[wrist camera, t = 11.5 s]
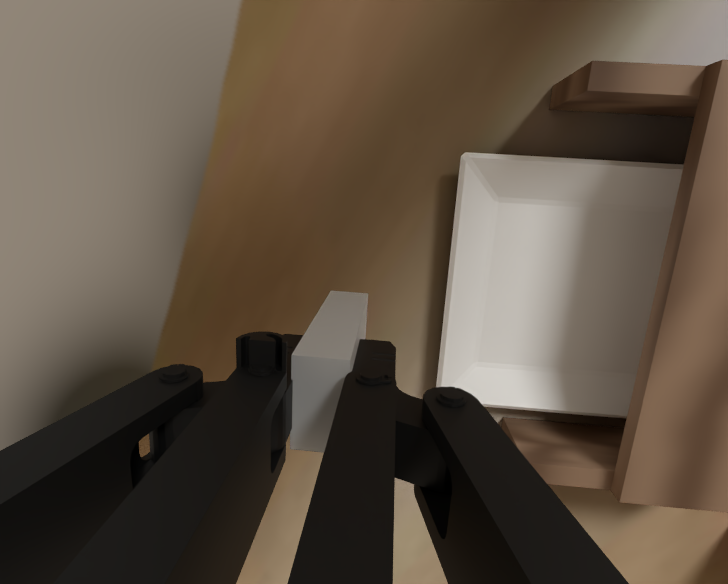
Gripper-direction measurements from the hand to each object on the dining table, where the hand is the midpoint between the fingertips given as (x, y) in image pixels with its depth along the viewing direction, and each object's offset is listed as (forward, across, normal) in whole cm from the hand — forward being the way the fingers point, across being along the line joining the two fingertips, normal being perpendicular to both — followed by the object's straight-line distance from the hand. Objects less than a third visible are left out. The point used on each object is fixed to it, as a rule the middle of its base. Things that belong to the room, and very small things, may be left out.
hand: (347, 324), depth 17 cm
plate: (+17, +15, -2) cm, 23 cm away
